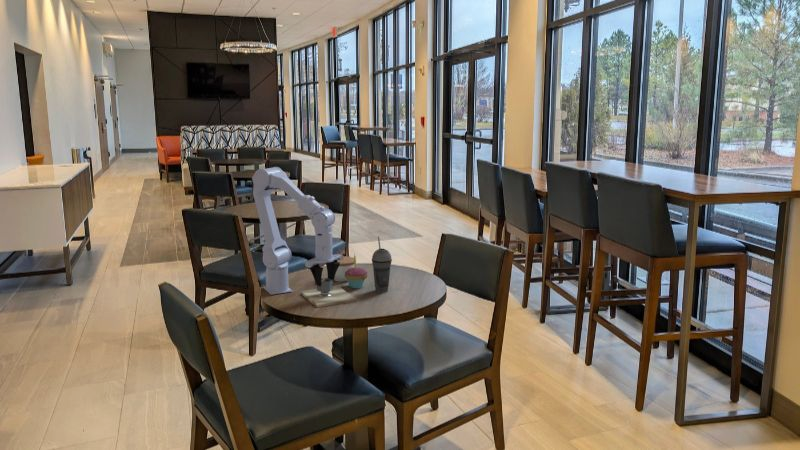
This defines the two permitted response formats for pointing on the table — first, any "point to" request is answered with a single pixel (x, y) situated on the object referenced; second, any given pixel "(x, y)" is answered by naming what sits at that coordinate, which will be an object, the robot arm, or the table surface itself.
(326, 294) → the stud
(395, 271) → the table surface
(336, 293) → the board
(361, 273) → the cupcake
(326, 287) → the cap
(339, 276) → the lidded jar
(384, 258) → the beverage cup
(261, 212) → the robot arm
